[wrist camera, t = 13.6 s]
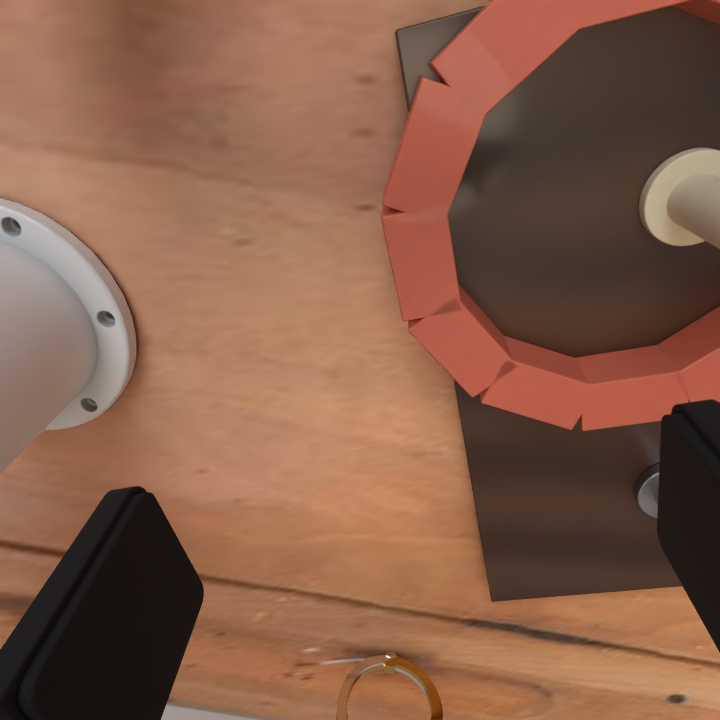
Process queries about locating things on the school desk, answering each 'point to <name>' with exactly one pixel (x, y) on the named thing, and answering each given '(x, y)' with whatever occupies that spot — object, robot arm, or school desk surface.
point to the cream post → (684, 199)
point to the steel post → (648, 490)
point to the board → (577, 282)
